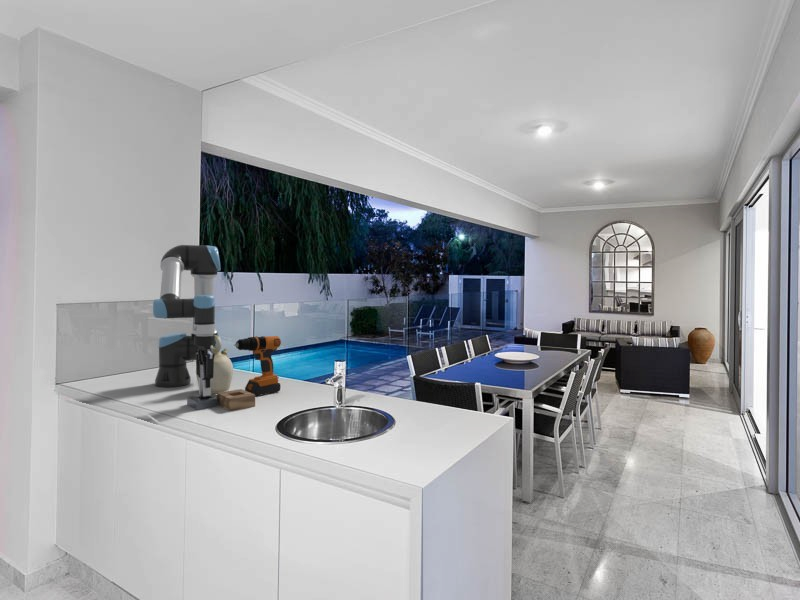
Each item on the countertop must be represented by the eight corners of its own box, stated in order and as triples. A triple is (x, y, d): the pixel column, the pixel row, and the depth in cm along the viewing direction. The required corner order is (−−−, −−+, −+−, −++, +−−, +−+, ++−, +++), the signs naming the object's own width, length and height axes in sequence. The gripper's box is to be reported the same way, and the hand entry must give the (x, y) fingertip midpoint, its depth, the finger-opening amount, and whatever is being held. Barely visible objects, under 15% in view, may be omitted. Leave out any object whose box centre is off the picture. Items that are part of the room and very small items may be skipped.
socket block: (187, 405, 190) (187, 397, 190) (212, 401, 197) (212, 393, 197) (196, 411, 183) (196, 402, 183) (222, 406, 190) (222, 397, 190)
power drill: (240, 399, 200) (239, 339, 199) (230, 396, 205) (230, 337, 204) (284, 391, 216) (284, 335, 215) (274, 388, 221) (274, 333, 220)
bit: (199, 404, 190) (198, 364, 189) (207, 403, 192) (207, 363, 192) (202, 406, 188) (202, 365, 187) (210, 405, 190) (210, 364, 189)
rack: (217, 405, 191) (217, 392, 191) (241, 401, 198) (241, 389, 198) (230, 412, 183) (230, 398, 182) (255, 407, 190) (255, 394, 189)
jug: (203, 397, 204) (203, 337, 203) (191, 390, 216) (190, 334, 215) (238, 391, 214) (238, 335, 213) (225, 385, 226) (224, 331, 225)
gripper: (186, 333, 192) (187, 392, 193) (202, 337, 180) (203, 400, 181) (205, 332, 197) (206, 389, 198) (222, 336, 185) (223, 397, 187)
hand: (204, 394), depth 190 cm, fingers closed on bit, 3 cm apart
